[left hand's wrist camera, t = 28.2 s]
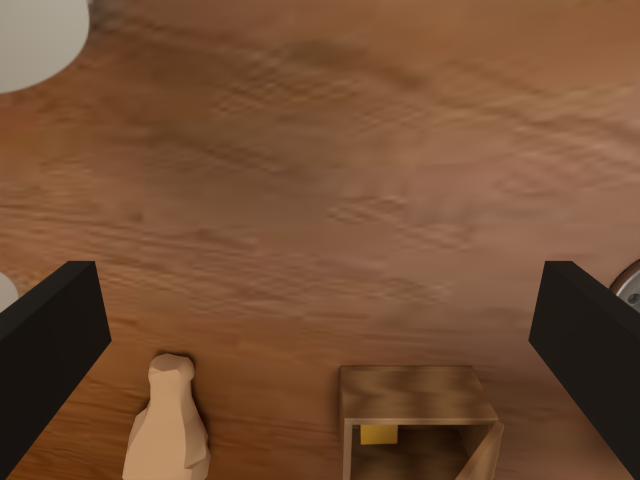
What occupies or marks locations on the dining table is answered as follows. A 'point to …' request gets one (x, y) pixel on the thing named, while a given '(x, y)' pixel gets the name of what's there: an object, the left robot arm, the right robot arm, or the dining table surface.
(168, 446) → the squash
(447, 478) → the wooden box
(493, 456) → the lid
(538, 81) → the dining table surface
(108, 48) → the dining table surface
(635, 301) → the right robot arm
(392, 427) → the block
